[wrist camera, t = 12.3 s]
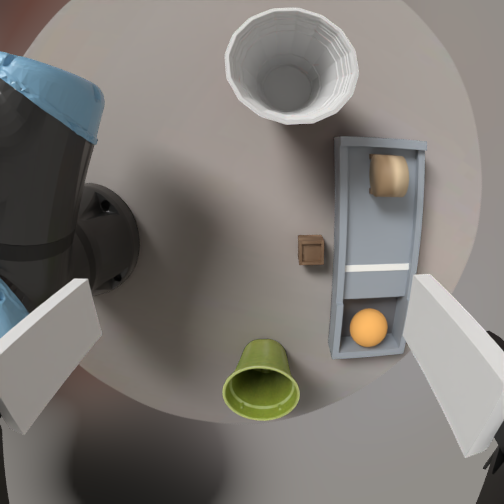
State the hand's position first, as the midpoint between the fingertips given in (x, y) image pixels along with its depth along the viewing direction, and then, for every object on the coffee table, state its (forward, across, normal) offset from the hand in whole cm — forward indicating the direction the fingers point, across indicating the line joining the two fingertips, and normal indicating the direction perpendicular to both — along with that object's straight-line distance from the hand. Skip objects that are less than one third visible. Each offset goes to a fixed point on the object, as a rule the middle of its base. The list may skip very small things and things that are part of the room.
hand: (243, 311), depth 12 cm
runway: (+27, +13, -6) cm, 30 cm away
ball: (+24, +13, -16) cm, 32 cm away
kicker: (+24, +13, +3) cm, 28 cm away
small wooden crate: (+27, +5, -6) cm, 28 cm away
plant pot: (+27, -1, -22) cm, 35 cm away
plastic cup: (+27, +3, +13) cm, 30 cm away
